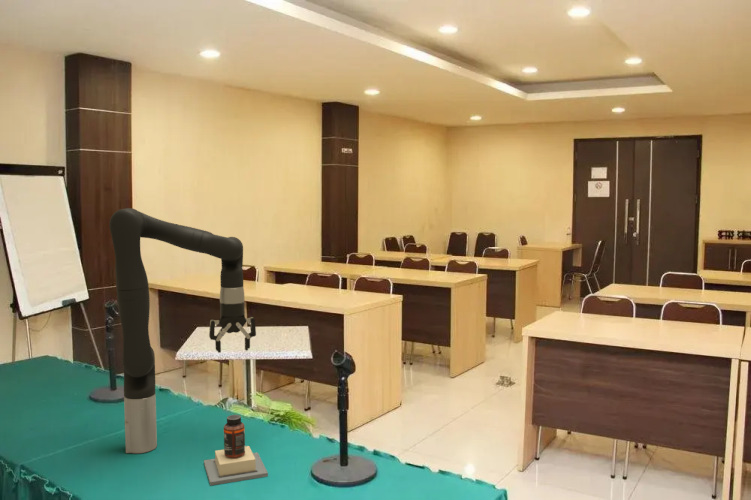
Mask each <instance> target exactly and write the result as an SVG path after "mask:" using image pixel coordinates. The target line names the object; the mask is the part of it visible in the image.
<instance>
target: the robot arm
mask: <svg viewBox="0 0 751 500" xmlns="http://www.w3.org/2000/svg"><path fill="white" fill-rule="evenodd" d="M109 219H110V220H109V230H110V235H111V239H112V240H111V241H112V245H113V246H112V247H113V250H114V256H115V257H114V258H115V259H114V260H115V263H114V264H115V288H116V300H117V307H118V315H119V321H120V324H121V329H122V341H123V342H122V361H121V363H122V367H123V403H124V405H123V406H124V409H123V410H124V436H125V437H124V439H125V443H124V444H125V454H143V453H144V454H145V453H149V452H151V451H153V450H155V449H156V448H157V446H158V443H157V441H158V438H157V434H158V433H157V403H156V402H157V399H156V397H157V396H156V365H155V364H156V362H155V360H156V357H155V355H156V354H155V351H154V348H152V345H151V340H150V332H149V323H150V301H151V300H150V290H149V289H150V288H149V279H148V276H147V271H146V269H145V266H144V262H143V259H142V252H141V238H143V239H152V240H156V241H160V242H163V243H167V244H170V245H172V246H175V247H178V248H180V249H183V250H187V251H192V252H195V253H199V254H200V253H201V254H205V255H209V256H211V257H214V258H217V259H220V260H221V261H220V262H221V269H220V270H221V271H220V288H219V289H220V290H219V313H220V315H219V316H220V317H219V319H218V320H215V319H210V320H209V334H208V335H209V336H208V337H209V338H210V340H211V341H214V342H215V345H214V346H215V351H216V352H218V354H219V353H220V354H221V353H222V342H221V339H222V338H223V337H224V336H225V335H226V333H227V334H232V333H240V332H241V333H242V334H243V336H245V337H244V350H245V351H249V349H250V348H251V338H253V337H256V336H257V330H256V329H257V327H256V319H255V318H254V317H253V316H250V317H248V318H247V317H246V315H245V308H246V306H245V289H244V273H243V266H244V244H243V242H242V241H241V240H240V239H239V238H237V237H236V236H228V237H226V236H222V235H218V234H214V233H212V232H211V231H207V230H204V229H200V228H196V227H192V226H187V225H181V224H177V223H173V222H169V221H166V220H162V219H159V218H156V217H153V216H151V215H148V214H146V213H144V212H141V211H139V210H137V209H135V208H131V207H130V208H129V207H127V208H121V209H118V210H116V211H115V212H114V213H113V214H112V216H111V217H110V218H109ZM246 323H247V324H248V325H250V332H248V331H247V330H246V329H245V328H244V327H245V325H246ZM218 325H219V326H220V327H221V328H220V329H219V331H218V332H217V334H216V335H215V328H217V327H218Z"/></svg>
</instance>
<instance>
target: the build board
mask: <svg viewBox="0 0 751 500" xmlns="http://www.w3.org/2000/svg"><path fill="white" fill-rule="evenodd" d="M214 456H215V457H214V458H211V459H204V460H203V465H204V470H205V472H206V475H207V479H208V482H209V485H210V486H217V485H223V484H228V483H229V484H230V483H234V482H235V483H236V482H241V481H247V480H254V479H259V478H260V479H261V478H265V477H266V478H267V477H269V472H268V470H267V468H266V467H265V464H264V463H263V460H262V458H261V457H260V454H259V452H253V450H252V449H251V446H249V445H245V454H244V455H243V456H241V457H238V458H228V457H226V456H225V453H224V449H218V450H214Z"/></svg>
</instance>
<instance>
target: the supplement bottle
mask: <svg viewBox="0 0 751 500" xmlns="http://www.w3.org/2000/svg"><path fill="white" fill-rule="evenodd" d="M245 431H246V430H245V423H244V422H242V416H241V415H240V414H231V415H228V416H227V417H226V423H225V424H224V425H223V450H224V453H225V456H226V457H228V458H238V457H241V456H243V455H244V454H245V446H246V432H245Z"/></svg>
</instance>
